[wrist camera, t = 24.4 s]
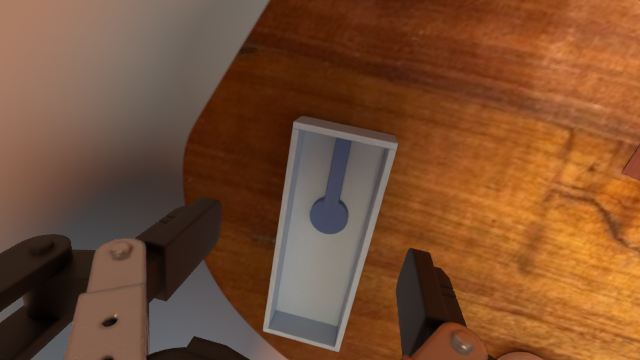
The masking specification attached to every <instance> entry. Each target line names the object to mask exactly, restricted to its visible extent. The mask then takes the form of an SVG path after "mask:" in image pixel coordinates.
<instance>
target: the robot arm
mask: <svg viewBox="0 0 640 360" xmlns="http://www.w3.org/2000/svg"><path fill="white" fill-rule="evenodd" d="M220 222H221V202H220V201H218V200H214V199H210V198H206V197H201V198H200V199H198V200H197V201H196V202H194V203H193V204H192V205H185V206H182V207H180V208H177V209H175V210H173V211H172V212H170V213H169V214H168V215H167V216H166V217H164V218H162V219H161V220H159V222H157V223H155V224H154V225H153V226H151V227H150V228H148V229H147V230H146V231H144V232H143V233H141V234H140V235H139V236H137V237H136V238H135V239H133V238H122V239H116V240H112V241H109V242H107V243H105V244H103V245H101V246H100V247H99V248H98V249H97V250H72V247H71V241H70V239H69V238H68V237H66V236H63V235H56V234H50V235H42V236H37V237H33V238H30V239H27V240H25V241H22V242H20V243H19V244H17V245H15V246H13V247H11V248H9V249H8V250H6V251H4V252H2V253H1V254H0V312H1V311H2V310H3V309H5V308H6V307H8V306H9V305H11V304H12V303H13V302H15V301H16V300H18V299H19V298H20V297H23V301H24V306H22V307H21V308H20V309H18V310H17V311H16V312H14V313H13V314H12V315H10V316H9V317H7V318H6V319H5V320H3V321H2V322H1V323H0V360H30V359H31V358H33V357H34V355H36V354H37V353H38V352H39V351H40V350H41V349H42V348H43V347H45V346H46V345H47V344H48V343H49V342H50V341H51V340H52V339H53V338H54V337H55V336H56V335H58V334H59V333H60V332H61V331H62V330H63V329H64V328H65V327H66V326H67V325H68V324H69V323H71V322H72V321H73V323H72V327H71V331H70V335H69V339H68V344H67V348H66V352H65V357H64V360H249V359H248V358H246V357H244V356H243V355H241V354H239V353H238V352H236V351H235V350H233V349H231V348H230V347H228V346H226V345H223V344H219V343H216V342H212V341H209V340H205V339H202V338H199V337H195V336H194V337H193V339H192V340H191V341H190V343H189V344H188V346H187V347H182V348H171V349H166V350H162V351H159V352H155V353H153V354H150V348H149V346H150V344H149V303H150V302H151V301H152V300H153V299H154V298H156V299H160V300H163V301H167V300H168V299H169V298H170V297H171V295H172V294H173V293H174V292H175V291H176V290H177V289H178V288H179V286H180V285H181V284H182V283H183V282H184V281H185V280H186V278H187V277H188V276H189V275H190V274H191V272H193V270H194V269H195V268H196V267H197V266H198V265H199V264H200V262H201V261H202V260H203V259H204V258H205V257H206V256H207V254H208V253H209V252H210V251H211V250H212V249H213V248H214V246H215V245H216V243H217V241H218V238H219V235H220ZM396 296H397V306H398V316H399V326H400V336H401V346H402V356H403V357H402V358H401V359H400V360H497V359H495V358H493V357H492V356H490V355H489V354H488V350H487V348H486V346H485V344H484V342H483V341H482V340H481V338H480V337H479V336H478V335H477V334H476V333H474V332H473V331H472V330H470V329H469V328H467V326H466V323H465V320H464V318H463V315H462V312H461V309H460V306H459V304H458V301H457V299H456V295H455V293H454V290H453V287H452V284H451V281H450V279H449V277H448V276H447V275H446V274H445V273H444V271H443V270H442V269H441V268H438V267H434V265H433V262H432V258H431V255H430V253H429V252H425V251H421V250H417V249H413V248H410V249H409V250H408V252H407V255H406V258H405V261H404V264H403V267H402V269H401V272H400V275H399V278H398V282H397V288H396Z"/></svg>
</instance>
